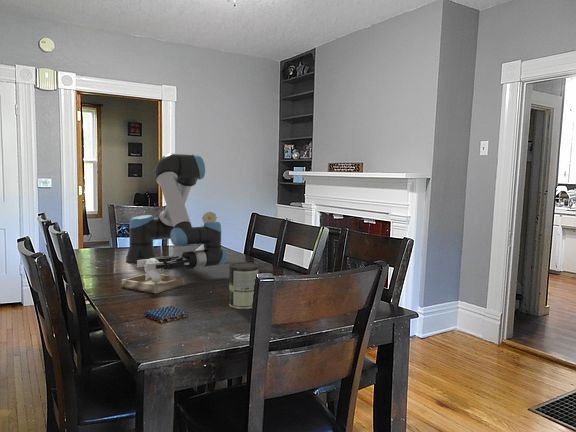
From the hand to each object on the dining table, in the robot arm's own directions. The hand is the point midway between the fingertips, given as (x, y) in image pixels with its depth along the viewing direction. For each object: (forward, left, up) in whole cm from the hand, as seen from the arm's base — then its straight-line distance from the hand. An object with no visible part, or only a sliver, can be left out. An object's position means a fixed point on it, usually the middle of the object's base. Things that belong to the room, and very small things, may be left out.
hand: (142, 265), depth 171 cm
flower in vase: (-25, +72, -9) cm, 77 cm away
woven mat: (+33, -22, -10) cm, 40 cm away
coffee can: (+47, +1, -9) cm, 48 cm away
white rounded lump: (+3, +3, -7) cm, 8 cm away
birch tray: (+2, +4, -9) cm, 10 cm away
